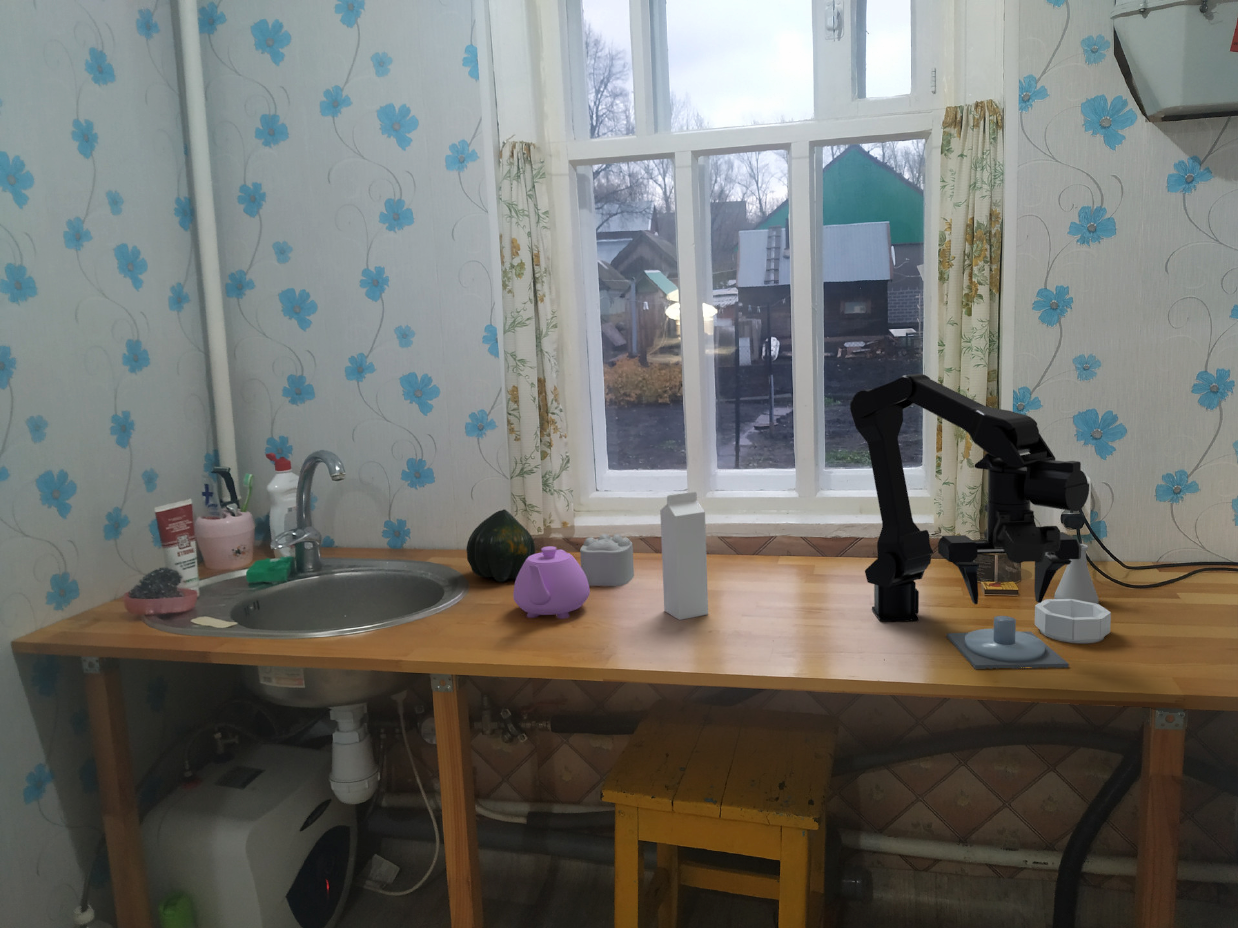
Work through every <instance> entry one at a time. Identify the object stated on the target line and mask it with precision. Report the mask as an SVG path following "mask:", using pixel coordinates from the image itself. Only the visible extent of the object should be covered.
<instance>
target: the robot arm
mask: <svg viewBox="0 0 1238 928" xmlns="http://www.w3.org/2000/svg"><path fill="white" fill-rule="evenodd" d="M849 403H850V404H849V410H850V414H851V417H852V420H853V423H854V426H855V429H856V430H857V432H858V433H859V434H860V435H861V437H862V438H863V439H864V441H865V442H866V444H867V447H868V451H869V458H870V462H871V463H870V464H871V468H872V473H873V480H874V484H875V490H876V496H877V501H878V507H879V513H880V518H881V523H882V527H881V530H880V532H879V536H878V539H877V543H876V548H877V549H876V550H877V551H876V552H877V557H876V559H875V560H874V561H873V562H872V563H871V564H870V565H869V566H868V567H866V569H865V570H864V574H865V578H866V581H867V583H869V584H872V585H874V586H873V587H874V588H873V591H874V592H873V593H874V594H873V597H874V598H873V602H874V604H873V606H871V610H872V612H873V613H874V615H875V616H876V619H878V621H880V622H901V621H902V622H907V621H909V622H911V621H919V616H918V615H917V614H919V610H920V609H919V608H920V607H919V606H920V605H919V604H920V595H919V594H920V591H919V590H918V589H917V588H916V584H917V583H916V581H917V580H921V579H922V580H923V576H924V575H925V570H927V568H928V567H929V565H930V564H931V562H932V561H931V560H932V555H933V554H934V550H933V549H932V546H931V543H930V540H931V539H930V533H929V530H927V529H923V530H921V529H920V528H919V527H918V526H917V525H916V523H915V522H914V519H913V513H912V510H911V504H910V499H909V493H908V487H907V482H906V477H905V476H906V475H905V471H904V465H903V460H902V454H901V450H900V443H899V435H900V432H901V429H902V426H903V423H904V410H906V409H907V408H910V407H912V406H913V405H914V404H915V405H916V406H919V407H921V408H923V409H924V410H926V411H927V412H930V413H932V414H933V415H935V416H937V417H940V418H941V419H942V420H944V421H947V422H948V423H951V424H952V425H954V426H957V427H958V428H960V429H961V430H963V431H965V432H966V433H967V434H968V435H969V437H970V439H971V440H972V442H973V443H974V444H975V445H976V446H978V447H979V448H981V449H982V451H984V452H985V454H984V456H983V457H982V458H981V459H980V460H978V462H975V463H974V468H975V469H980V470H985V471H986V470H987V473H988V474H987V504H984V511H985V512H986V513H987V515H986V516H987V518H986V519H987V521H986V524H987V525H986V528H987V529H986V530H984V535H983V536H984V537H983V538H984V539H986V540H983V541H982V540H981V541H980V540H978V541H975V540H973V539H971V538H970V537H969V536H967V535H966V534H963V535H962V534H960V535H958V534H957V535H942V537H940V539H939V540H938V543H937V544H938V545H937V553H938V554H939V555H940V556H941V557H942V558H944V559H945V560H946V561H947V562H949V563H952V564H953V565H955V566H956V567H957V569H958V570H959V572H960V574H961V576H962V578H963V580H964V584H965V585H966V586H965V587H966V588H967V592H968V594H969V596H970V599H971V601H972V603H973V604H974V605H978V603H979V583H978V571H979V566H980V564H979V563H978V562H977V561H975V560H976V559H977V558H978V555H991V554H995V555H996V554H1006V557H1007V560H1009V561H1010V562H1012V563H1014V564H1022V563H1026V562H1027V563H1030V562H1034V586H1033V587H1034V598H1035V601H1036V603H1037V604H1038V603H1041V602H1042V601H1044V597H1045V596H1046V593H1047V591H1048V588H1049V586H1050V584H1051V582H1052V581H1053V578H1054V576H1055V575H1056V573H1057V572H1058V571H1059V570H1060V569H1061V568H1062V567H1064V566H1067V565H1069V564H1070V563H1071V560H1069V559H1080V558H1081V545H1080V544H1081V543H1080V541H1079V540H1078V539H1077V538H1075V537H1073V536H1071V535H1069V534H1068V533H1066V532H1063V531H1061V529H1059V527H1058V526H1057V525H1043V526H1037V524H1036V521H1035V514H1034V512H1035V511H1034V510H1033V509H1031V504H1032V505H1034V506H1036V507H1037V506H1038V507H1044V508H1051V509H1052V508H1053V509H1058V510H1064V511H1071V512H1078V511H1080V510H1082V509H1083V507H1084V506H1085V504H1087V501H1088V498H1089V493H1090V483H1089V481H1088V477H1087V475H1086V473H1085V472H1084V471H1082V470H1081V469H1082V467H1081V466H1082V463H1081V462H1080V461H1078V460H1077V461H1076V460H1067V461H1063V460H1062V461H1061V460H1056V457H1055V455H1054V453H1053V452H1052V451H1051V449H1050V448H1049V446H1048V445H1047V443H1046V441H1045V440H1044V438H1043V437H1042V435H1041V433H1040V430H1039V427H1038V423H1037V421H1036V420H1035V419H1034V418H1032V417H1031V416H1030V415H1026V414H1023V413H1020V412H1015V411H1012V410H1009V409H1001V408H995V407H990V406H987V405H984V404H982V403H980V402H978V401H975V400H974V399H972V398H971V397H967V396H966V395H964V394H961V393H959V392H957V391H956V390H953V389H951V388H949V387H948V386H945V385H943V384H941V383H939V382H937V381H935V380H933V379H931V377H929V376H928V375H926V374H923V373H916V374H915V373H913V374H905V375H902V376H900V377H898V378H897V379H895V380H893V381H891V382H889V383H886V384H883V385H880V386H878V387H875V388H872V389H864V390H860V391H858V392H856V393H855V394H854V395H853V397H852V399H851V400H850V402H849Z"/></svg>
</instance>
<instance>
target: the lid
mask: <svg viewBox="0 0 1238 928" xmlns="http://www.w3.org/2000/svg"><path fill="white" fill-rule="evenodd" d="M1016 625H1017V619H1016V618H1014V617H1012V616H1008V615H997V616H994V618H993V628H981V629H976V630H975V629H974V630H973V631H970V632H967V633H968V634H967V635H966V636H965V646H966V648H967V649H968V650H970V651H971V652H973V653H975V654H977V655H980V656H983V657H986V658H990V659H995V660H1001V661H1012V662H1022V661H1031V660H1036V659H1039V658H1041V657H1042V656H1043V655H1044V654H1045V644H1046V643H1045V642H1044V641H1043V640H1041V639H1040V638H1039V637H1038V636H1037V637H1038V638H1037V637H1035V636H1036V635H1035V636H1032V635H1030V634H1026V633H1023V632H1024V631H1019V630H1018V631H1017V629H1016V627H1017V626H1016ZM1044 643H1045V644H1044Z"/></svg>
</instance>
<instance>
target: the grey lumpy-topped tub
mask: <svg viewBox="0 0 1238 928" xmlns="http://www.w3.org/2000/svg"><path fill="white" fill-rule="evenodd" d="M633 545H634V544H633V542H632V541H631V540H630V539H629V538H628V537H622V535H621V534H619V533H615V534H613V536H610V535H609V534H607V533H602V534H601V535H599V537H598V538H594V537H589V536H588V537H587V538H585V540H584V542H583V545H582V546H581V547H580V549H579V552H580V553H579V554H580V555H579V556H580V567H581V568H582V570H583V571H584V573H585V575H586V577H587V580H588V584H589V587H595V586H596V587H597V586H600V587H601V586H602V587H603V586H604V587H620V586H625V585H627V584H629V583H630V582H631V581H632V580H633V578H634V576H635V573H634V572H635V570H634V548H633Z"/></svg>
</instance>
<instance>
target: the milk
mask: <svg viewBox="0 0 1238 928" xmlns="http://www.w3.org/2000/svg"><path fill="white" fill-rule="evenodd" d="M659 511H660V513H659V514H660V534H661V535H660V539H661V560H662V582H663V583H662V584H663V588H662V589H663V609H664V612H666V613H667V614H669V615H671V616H672V617H674V618H675V619H677V620H678V621H682V620H687V619H690V618H691V619H693V618H696V617H697V618H698V617H701V616H706V615H709V596H708V594H709V593H708V591H709V590H708V566H707V565H708V564H707V560H708V559H707V535H706V534H707V533H706V511H705V510H704V508H703V506H701V504H700V502H699V501H698V497H697V491H691V492H683V493H677V494H668V495H667V496H666V504H665V505H664V506H663V507H661V509H660V510H659Z"/></svg>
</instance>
